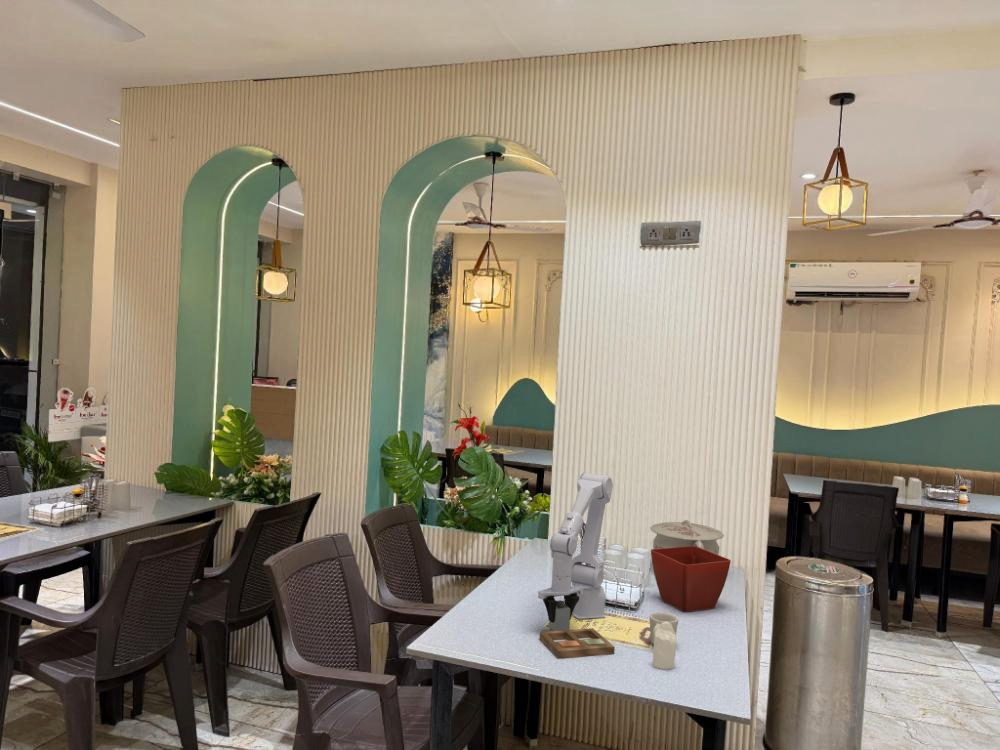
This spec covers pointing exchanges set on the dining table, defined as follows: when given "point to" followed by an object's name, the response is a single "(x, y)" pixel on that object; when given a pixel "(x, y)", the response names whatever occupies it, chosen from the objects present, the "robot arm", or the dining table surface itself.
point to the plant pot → (689, 576)
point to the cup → (660, 618)
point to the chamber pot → (686, 536)
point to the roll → (664, 647)
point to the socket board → (576, 643)
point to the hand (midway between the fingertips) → (559, 620)
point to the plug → (561, 617)
